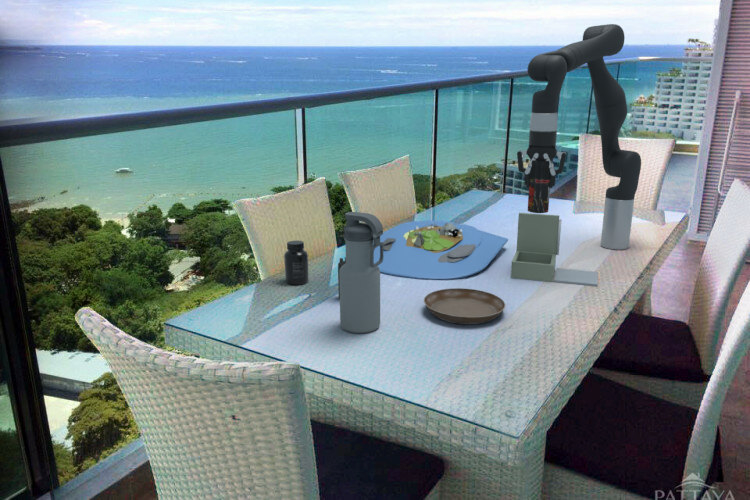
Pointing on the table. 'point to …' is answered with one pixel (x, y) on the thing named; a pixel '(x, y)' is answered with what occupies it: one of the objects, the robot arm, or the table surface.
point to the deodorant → (539, 187)
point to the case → (536, 247)
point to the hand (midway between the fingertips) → (539, 187)
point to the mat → (576, 277)
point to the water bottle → (360, 274)
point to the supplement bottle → (296, 263)
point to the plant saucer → (464, 305)
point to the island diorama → (436, 250)
